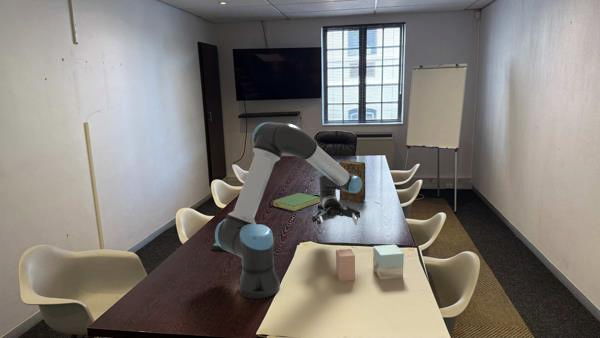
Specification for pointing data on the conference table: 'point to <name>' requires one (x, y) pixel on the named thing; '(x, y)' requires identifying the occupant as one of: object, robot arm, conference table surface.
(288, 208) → the hardcover book
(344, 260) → the tall block
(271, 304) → the conference table surface
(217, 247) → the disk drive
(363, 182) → the book
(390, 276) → the tower base block
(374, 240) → the conference table surface
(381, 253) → the tower upper block
